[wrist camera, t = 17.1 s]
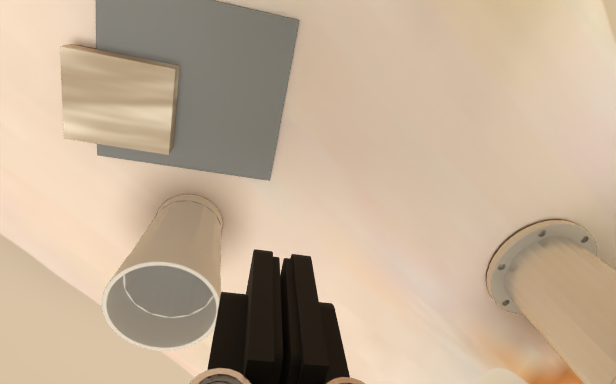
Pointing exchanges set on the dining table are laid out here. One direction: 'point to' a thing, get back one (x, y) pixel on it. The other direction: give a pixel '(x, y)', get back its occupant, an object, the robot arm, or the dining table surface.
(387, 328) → the dining table surface
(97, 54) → the tile
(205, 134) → the mat
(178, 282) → the cup
